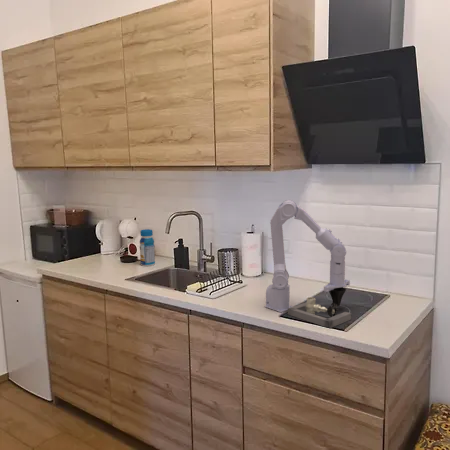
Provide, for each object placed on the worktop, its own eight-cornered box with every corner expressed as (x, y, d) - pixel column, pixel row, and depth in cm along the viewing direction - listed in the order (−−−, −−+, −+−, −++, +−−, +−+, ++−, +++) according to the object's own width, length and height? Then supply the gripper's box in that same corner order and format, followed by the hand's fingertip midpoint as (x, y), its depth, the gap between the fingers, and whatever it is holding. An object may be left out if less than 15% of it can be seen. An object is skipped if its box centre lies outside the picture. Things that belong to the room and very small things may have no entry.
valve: (301, 315, 183) (330, 322, 175) (302, 299, 182) (330, 305, 174) (310, 311, 188) (338, 317, 180) (310, 295, 187) (338, 301, 179)
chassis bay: (287, 314, 184) (287, 308, 184) (308, 307, 193) (309, 301, 192) (329, 328, 169) (329, 321, 169) (350, 319, 178) (350, 313, 177)
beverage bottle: (151, 266, 264) (150, 231, 261) (137, 266, 266) (136, 231, 263) (157, 263, 272) (156, 229, 269) (143, 262, 274) (142, 228, 271)
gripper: (334, 277, 178) (333, 312, 180) (356, 271, 188) (355, 304, 190) (319, 274, 184) (319, 307, 186) (341, 268, 193) (341, 300, 195)
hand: (336, 305), depth 188 cm, fingers closed
